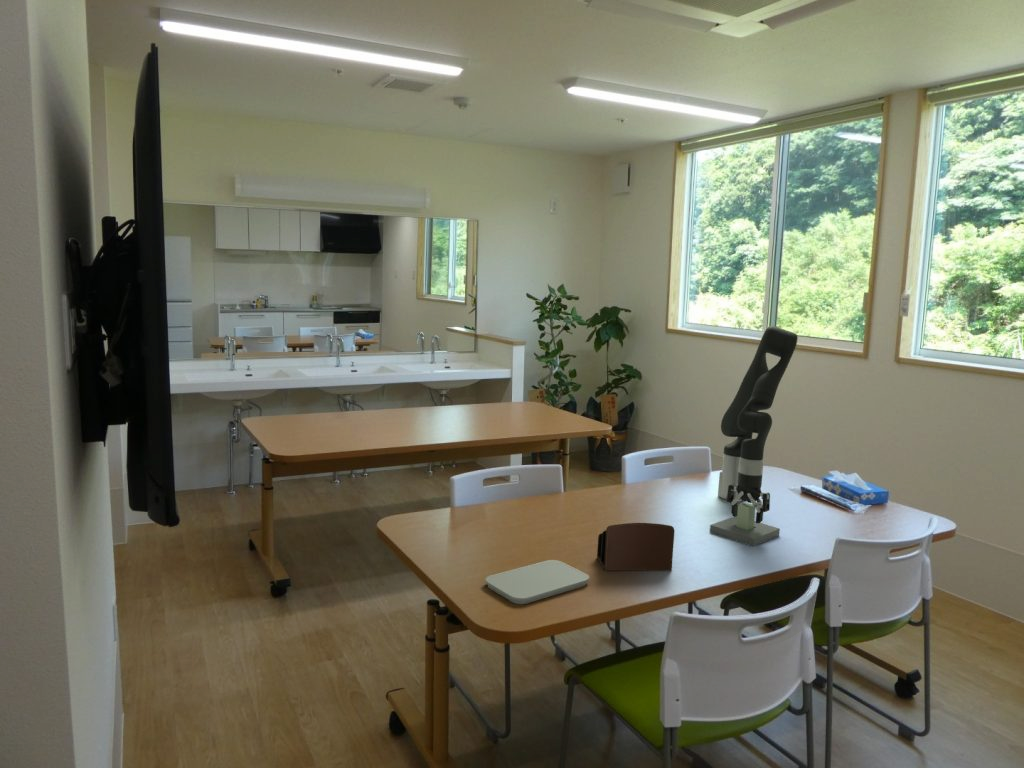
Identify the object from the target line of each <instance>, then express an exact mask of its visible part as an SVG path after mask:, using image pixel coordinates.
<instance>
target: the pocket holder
mask: <svg viewBox="0 0 1024 768" xmlns="http://www.w3.org/2000/svg"><path fill="white" fill-rule="evenodd" d="M736 524H737V516H735V517H734V516H732V517H728V518H726V519H723V520H720V521H718V522H714V523H711V524H710V525H709V533H712V534H715V535H718V536H720V535H721V536H720V537H723V536H724V537H723V538H726V537H727V539H729V538H730V539H729V540H733V541H736V540H737V541H736V542H739V541H740V542H739V543H742V542H743V543H742V544H745V543H746V544H745V545H748V544H749V546H751V545H752V546H751V547H755V546H757V544H758V545H760V544H762V542H763V543H765V542H767V540H768V541H770V540H772V538H773V539H775V538H777V536H778V537H780V533H781V532H780V530H781V529H780V528H779V527H775V526H773V525H770V524H769V525H768V524H765V523H763V522H761V523H756V520H754V529H751V530H744V529H741V528H738V527H736ZM764 541H765V542H764ZM759 543H760V544H759ZM754 545H755V546H754Z"/></svg>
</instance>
